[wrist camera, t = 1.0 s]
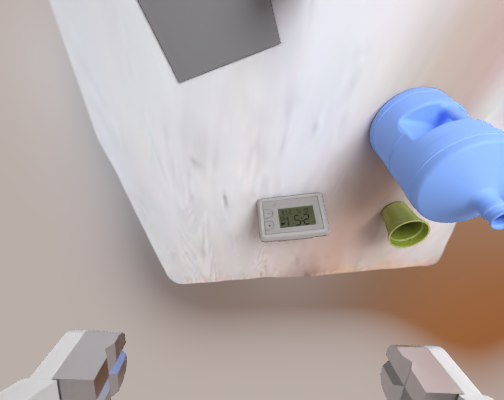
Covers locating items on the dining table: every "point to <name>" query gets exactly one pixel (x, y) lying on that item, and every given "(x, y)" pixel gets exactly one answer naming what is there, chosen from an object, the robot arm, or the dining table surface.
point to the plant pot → (404, 225)
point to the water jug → (442, 157)
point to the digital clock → (292, 217)
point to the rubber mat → (210, 31)
